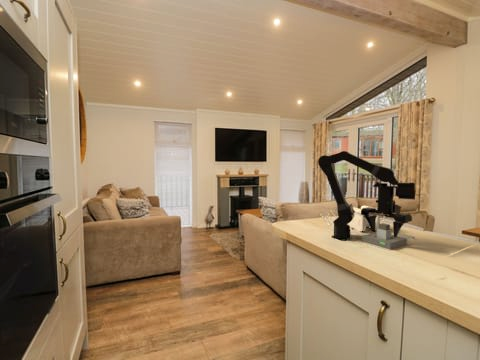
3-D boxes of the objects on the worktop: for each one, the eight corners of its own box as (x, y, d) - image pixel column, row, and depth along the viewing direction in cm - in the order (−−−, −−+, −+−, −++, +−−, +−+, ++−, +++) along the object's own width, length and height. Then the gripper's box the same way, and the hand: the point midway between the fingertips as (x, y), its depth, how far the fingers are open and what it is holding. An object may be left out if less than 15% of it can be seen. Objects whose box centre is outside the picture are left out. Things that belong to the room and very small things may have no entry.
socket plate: (361, 242, 110) (362, 235, 110) (378, 238, 116) (378, 231, 116) (389, 250, 100) (390, 243, 100) (406, 245, 106) (406, 238, 106)
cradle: (386, 238, 116) (386, 234, 116) (396, 235, 120) (396, 232, 120) (405, 243, 109) (405, 239, 109) (415, 240, 113) (415, 236, 113)
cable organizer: (381, 233, 124) (382, 209, 124) (361, 234, 123) (361, 210, 122) (363, 225, 139) (363, 204, 138) (344, 226, 138) (345, 205, 137)
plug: (376, 242, 109) (376, 223, 108) (381, 240, 111) (382, 222, 110) (385, 244, 106) (386, 225, 105) (391, 243, 108) (391, 224, 107)
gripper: (419, 199, 103) (418, 237, 104) (375, 194, 119) (374, 227, 120) (404, 201, 97) (403, 241, 98) (360, 196, 113) (359, 230, 115)
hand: (384, 234), depth 108 cm, fingers open, 9 cm apart
